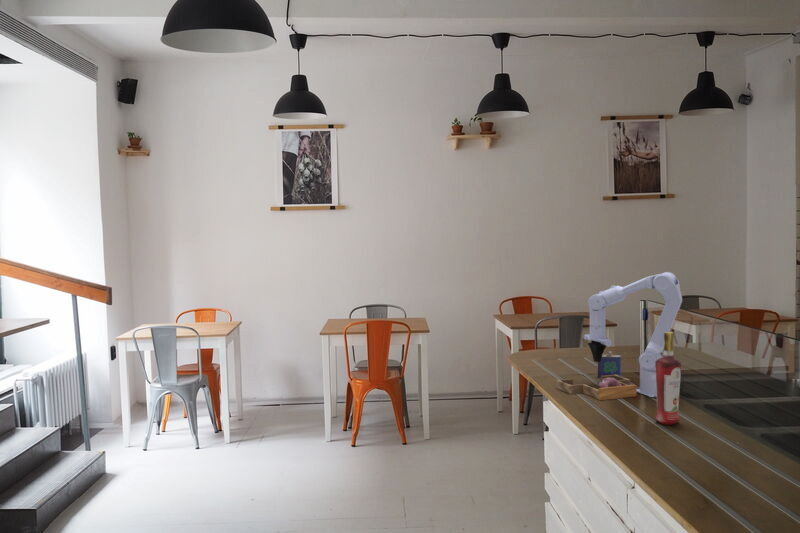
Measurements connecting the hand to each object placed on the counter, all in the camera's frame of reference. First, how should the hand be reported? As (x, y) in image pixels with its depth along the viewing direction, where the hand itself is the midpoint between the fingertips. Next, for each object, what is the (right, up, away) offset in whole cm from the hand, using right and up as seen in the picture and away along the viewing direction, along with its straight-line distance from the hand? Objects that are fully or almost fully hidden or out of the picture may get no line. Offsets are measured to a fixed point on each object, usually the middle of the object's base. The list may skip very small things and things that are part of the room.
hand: (597, 361), depth 238 cm
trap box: (-1, -10, -7) cm, 12 cm away
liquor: (+8, -12, -44) cm, 46 cm away
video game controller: (+2, -10, -11) cm, 15 cm away
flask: (+9, -9, +13) cm, 18 cm away
